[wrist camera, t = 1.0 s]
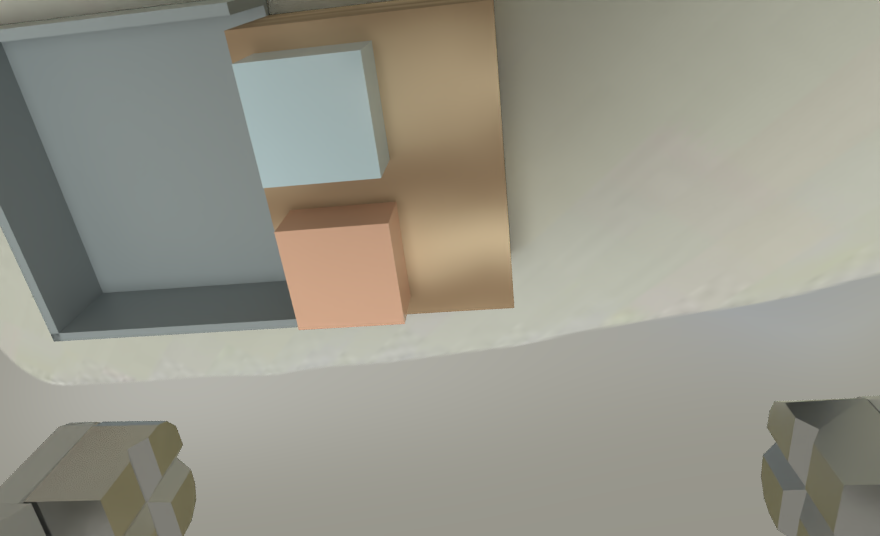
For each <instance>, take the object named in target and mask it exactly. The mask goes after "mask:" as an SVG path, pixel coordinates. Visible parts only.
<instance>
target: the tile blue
mask: <svg viewBox="0 0 880 536" xmlns="http://www.w3.org/2000/svg"><path fill="white" fill-rule="evenodd" d="M232 67H233V71H234V75H235V79H236V83H237V87H238V91H239V95H240V99H241V103H242V107H243V111H244V115H245V119H246V123H247V127H248V131H249V135H250V138H251V142H252V146H253V150H254V154H255V158H256V162H257V166H258V170H259V174H260V178H261V182H262V186H263V188H271V187H283V186H295V185H307V184H319V183H330V182H342V181H354V180H366V179H377V178H381V177H382V175H383V173H384V171H385V169H386V166H387V164H388V162H389V160H390V157H389V151H388V144H387V138H386V131H385V125H384V118H383V112H382V105H381V98H380V92H379V85H378V79H377V72H376V66H375V59H374V53H373V46H372V40H371V41H362V42H353V43H344V44H335V45H326V46H317V47H308V48H299V49H290V50H281V51H272V52H262V53H253V54H251V55H249V56H247V57H245V58H243V59H241V60H239V61H237V62H235V63H233V64H232Z"/></svg>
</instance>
